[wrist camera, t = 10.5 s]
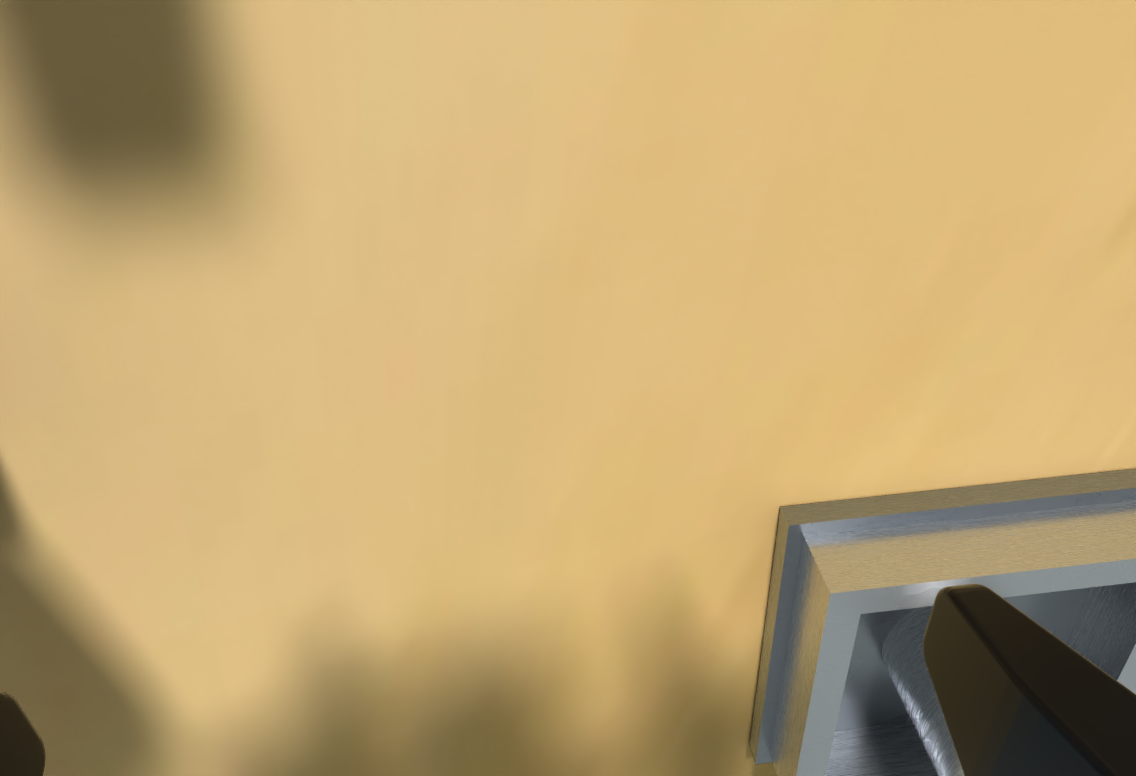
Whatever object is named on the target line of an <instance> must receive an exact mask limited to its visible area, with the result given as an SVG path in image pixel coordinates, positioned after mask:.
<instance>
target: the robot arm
mask: <svg viewBox="0 0 1136 776" xmlns="http://www.w3.org/2000/svg"><path fill="white" fill-rule="evenodd" d="M923 653H924V659H925V663H926V666H927V669H928V672H929V675H930V677H931V680H932V683H933V686H934V689H935V692H936V695H937V698H938V701H939V703H940V706H941V709H942V712H943V715H944V718H945V721H946V724H947V727H948V729H949V732H950V735H951V738H952V741H953V744H954V747H955V750H956V753H957V755H958V758H959V761H960V764H961V767H962V770H963V773H964V776H1136V694H1135V693H1133V692H1132V691H1131V690H1129V689H1128V688H1126V687H1125V686H1124V685H1122V684H1121V683H1120V682H1118V681H1117V680H1115V679H1114V678H1113V677H1111V676H1110V675H1109V674H1107V673H1106V672H1104V671H1103V670H1102V669H1100V668H1099V667H1097V666H1096V665H1095V664H1093V663H1092V662H1091V661H1089V660H1088V659H1086V658H1085V657H1084V656H1082V655H1081V654H1080V653H1078V652H1077V651H1075V650H1074V649H1073V648H1071V647H1070V646H1068V645H1067V644H1066V643H1064V642H1063V641H1062V640H1060V639H1059V638H1057V637H1056V636H1055V635H1053V634H1052V633H1051V632H1049V631H1048V630H1046V629H1045V628H1044V627H1042V626H1041V625H1039V624H1038V623H1037V622H1035V621H1034V620H1033V619H1031V618H1030V617H1028V616H1027V615H1026V614H1024V613H1023V612H1022V611H1020V610H1019V609H1017V608H1016V607H1015V606H1013V605H1012V604H1010V603H1009V602H1008V601H1006V600H1005V599H1004V598H1002V597H1001V596H999V595H998V594H997V593H995V592H994V591H993V590H991V589H989V588H988V587H986V586H983V585H981V584H966V585H957V586H948V587H944V588H942V589H941V590H940V591H939V592H938V593H937V595H936V598H935V601H934V604H933V608H932V611H931V615H930V618H929V621H928V625H927V628H926V632H925V635H924V640H923ZM44 767H45V749H44V745H43V741H42V739H41V737H40V736H39V734H38V733H37V731H36V730H35V728H34V727H33V725H32V724H31V722H30V720H29V719H28V717H27V716H26V714H25V713H24V711H23V710H22V708H21V707H20V705H19V703H18V702H17V700H16V699H15V698H14V697H13V696H12V695H10V694H8V693H6V692H0V776H43V772H44Z"/></svg>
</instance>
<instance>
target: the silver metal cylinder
mask: <svg viewBox="0 0 1136 776" xmlns="http://www.w3.org/2000/svg"><path fill="white" fill-rule="evenodd" d="M932 608H933V606H926V607H918V608H915V609H914V610H912V611H911V612H909V613H908V614H906V615H905V616H904V617H903V618H901V619H900V620H899V621H898V622H897V623H896V624H895V625H894V626H893V627H892V629H891V630H890V631H889V633H888V634H887V636H886V638H885V640H884V642H883V646H882V660H883V662H884V664H885V666H886V669H887V671H888V673H889V675H890V677H891V679H892V681H893V683H894V685H895V687H896V689H897V691H898V693H899V695H900V698H901V700H902V702H903V704H904V706H905V708H906V710H907V712H908V714H909V716H910V718H911V720H912V722H913V724H914V726H915V729H916V731H917V733H918V735H919V737H920V739H921V741H922V743H923V745H924V747H925V749H926V751H927V753H928V755H929V758H930V760H931V762H932V764H933V766H934V768H935V770H936V772H937V774H938V776H964V773H963V770H962V767H961V764H960V761H959V758H958V755H957V753H956V750H955V747H954V744H953V741H952V738H951V735H950V732H949V729H948V727H947V724H946V721H945V718H944V715H943V712H942V709H941V706H940V703H939V701H938V698H937V695H936V692H935V689H934V686H933V683H932V680H931V677H930V675H929V672H928V669H927V666H926V663H925V659H924V653H923V640H924V635H925V632H926V628H927V625H928V621H929V618H930V615H931V611H932Z"/></svg>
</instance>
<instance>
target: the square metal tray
mask: <svg viewBox="0 0 1136 776" xmlns="http://www.w3.org/2000/svg"><path fill="white" fill-rule="evenodd" d="M966 584H981V585H983V586H986V587H988V588H989V589H991V590H993V591H994V592H995V593H997V594H998V595H999V596H1001V597H1002V598H1004V599H1005V600H1006V601H1008V602H1009V603H1010V604H1012V605H1013V606H1015V607H1016V608H1017V609H1019V610H1020V611H1022V612H1023V613H1024V614H1026V615H1027V616H1028V617H1030V618H1031V619H1033V620H1034V621H1035V622H1037V623H1038V624H1039V625H1041V626H1042V627H1044V628H1045V629H1046V630H1048V631H1049V632H1051V633H1052V634H1053V635H1055V636H1056V637H1057V638H1059V639H1060V640H1062V641H1063V642H1064V643H1066V644H1067V645H1068V646H1070V647H1071V648H1073V649H1074V650H1075V651H1077V652H1078V653H1080V654H1081V655H1082V656H1084V657H1085V658H1086V659H1088V660H1089V661H1091V662H1092V663H1093V664H1095V665H1096V666H1097V667H1099V668H1100V669H1102V670H1103V671H1104V672H1106V673H1107V674H1109V675H1110V676H1111V677H1113V678H1114V679H1115V680H1117V681H1118V682H1120V683H1121V684H1122V685H1124V686H1125V687H1126V688H1128V689H1129V690H1131V691H1132V692H1133V693H1135V694H1136V468H1135V469H1126V470H1117V471H1107V472H1098V473H1089V474H1080V475H1070V476H1061V477H1052V478H1042V479H1033V480H1024V481H1014V482H1005V483H996V484H986V485H977V486H968V487H958V488H949V489H940V490H930V491H921V492H912V493H903V494H893V495H884V496H875V497H865V498H856V499H847V500H837V501H828V502H819V503H809V504H800V505H791V506H781V507H780V513H779V521H778V529H777V537H776V544H775V552H774V560H773V567H772V575H771V583H770V591H769V598H768V606H767V614H766V621H765V629H764V637H763V645H762V652H761V660H760V668H759V676H758V683H757V691H756V699H755V706H754V714H753V722H752V730H751V737H750V748H751V751H752V755H753V758H754V761H755V764H763V763H771V762H773V765H774V768H775V771H776V774H777V776H938V774H937V772H936V770H935V768H934V766H933V764H932V762H931V760H930V758H929V755H928V753H927V751H926V749H925V747H924V745H923V743H922V741H921V739H920V737H919V735H918V733H917V731H916V729H915V726H914V724H913V722H912V720H911V718H910V716H909V714H908V712H907V710H906V708H905V706H904V704H903V702H902V700H901V698H900V695H899V693H898V691H897V689H896V687H895V685H894V683H893V681H892V679H891V677H890V675H889V673H888V671H887V669H886V666H885V664H884V662H883V660H882V646H883V642H884V640H885V638H886V636H887V634H888V633H889V631H890V630H891V629H892V627H893V626H894V625H895V624H896V623H897V622H898V621H899V620H900V619H901V618H903V617H904V616H905V615H906V614H908V613H909V612H911V611H912V610H914V609H915V608H918V607H926V606H933V604H934V601H935V598H936V595H937V593H938V592H939V591H940V590H941V589H942V588H944V587H948V586H957V585H966Z"/></svg>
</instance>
